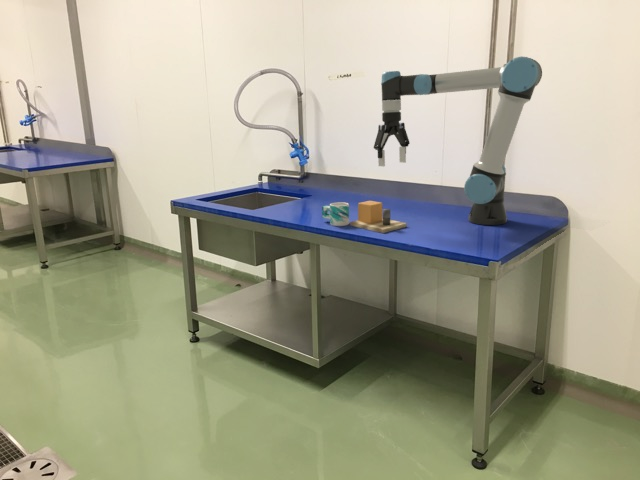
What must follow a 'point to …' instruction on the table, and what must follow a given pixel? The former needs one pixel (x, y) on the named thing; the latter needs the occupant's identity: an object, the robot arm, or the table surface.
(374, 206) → the wooden block
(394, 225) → the board
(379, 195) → the table surface
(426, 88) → the robot arm
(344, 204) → the mug
